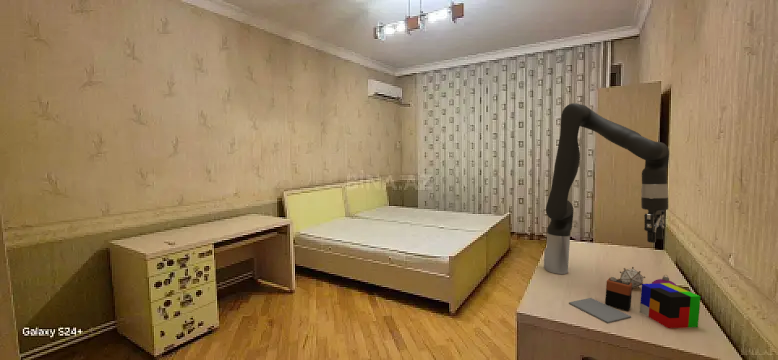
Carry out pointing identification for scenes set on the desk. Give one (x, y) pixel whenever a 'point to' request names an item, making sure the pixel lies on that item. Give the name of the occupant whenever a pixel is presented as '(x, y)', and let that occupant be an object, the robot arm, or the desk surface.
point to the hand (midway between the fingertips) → (655, 240)
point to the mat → (600, 310)
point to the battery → (618, 293)
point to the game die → (632, 277)
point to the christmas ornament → (664, 281)
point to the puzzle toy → (670, 305)
